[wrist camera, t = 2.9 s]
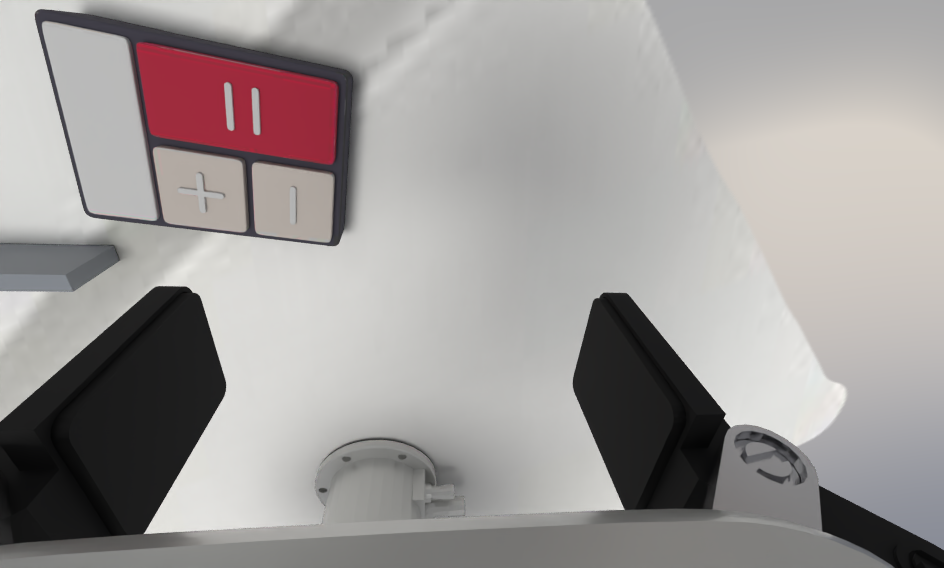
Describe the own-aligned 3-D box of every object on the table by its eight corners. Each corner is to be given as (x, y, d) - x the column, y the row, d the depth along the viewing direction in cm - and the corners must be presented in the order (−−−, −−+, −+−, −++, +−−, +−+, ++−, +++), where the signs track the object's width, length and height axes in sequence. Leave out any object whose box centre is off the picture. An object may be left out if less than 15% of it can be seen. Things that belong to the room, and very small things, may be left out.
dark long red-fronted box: (337, 252, 28) (75, 222, 24) (345, 228, 31) (118, 199, 28) (347, 74, 23) (16, 4, 19) (355, 70, 26) (79, 11, 23)
